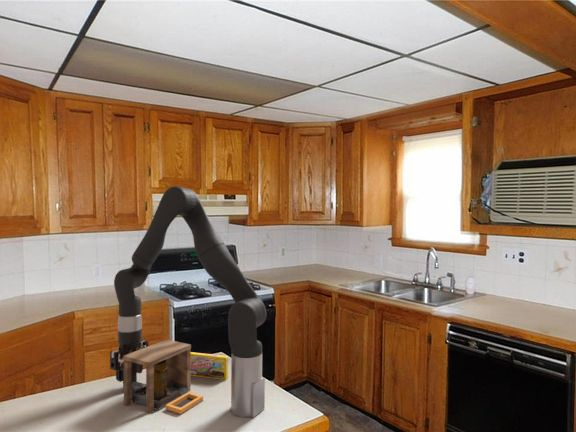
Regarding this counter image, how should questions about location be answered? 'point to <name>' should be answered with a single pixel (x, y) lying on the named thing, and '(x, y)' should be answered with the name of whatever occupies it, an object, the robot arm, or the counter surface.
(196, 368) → the candy box
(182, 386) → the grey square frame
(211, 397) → the counter surface
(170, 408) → the pit trap
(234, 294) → the robot arm
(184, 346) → the wooden side table
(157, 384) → the condiment
